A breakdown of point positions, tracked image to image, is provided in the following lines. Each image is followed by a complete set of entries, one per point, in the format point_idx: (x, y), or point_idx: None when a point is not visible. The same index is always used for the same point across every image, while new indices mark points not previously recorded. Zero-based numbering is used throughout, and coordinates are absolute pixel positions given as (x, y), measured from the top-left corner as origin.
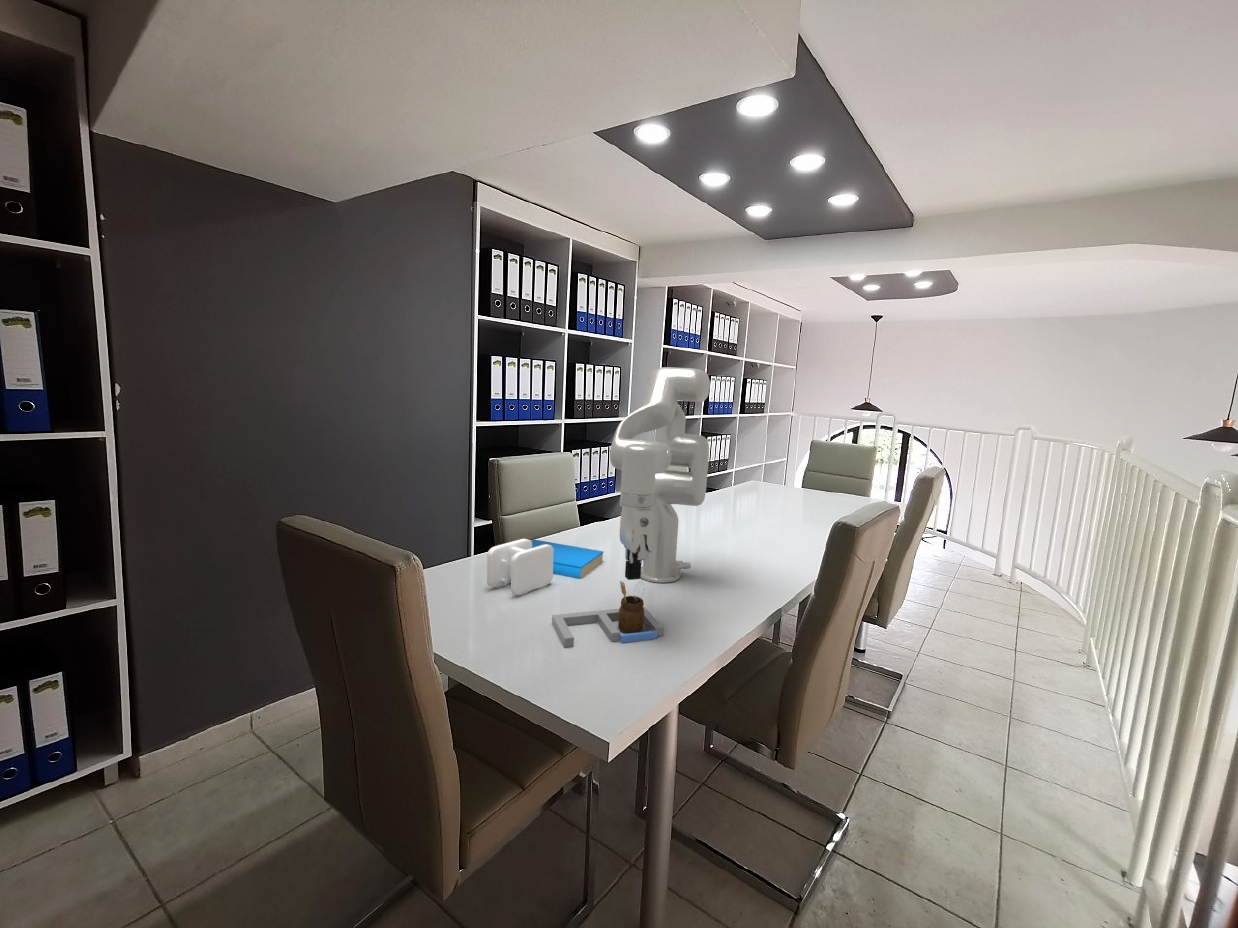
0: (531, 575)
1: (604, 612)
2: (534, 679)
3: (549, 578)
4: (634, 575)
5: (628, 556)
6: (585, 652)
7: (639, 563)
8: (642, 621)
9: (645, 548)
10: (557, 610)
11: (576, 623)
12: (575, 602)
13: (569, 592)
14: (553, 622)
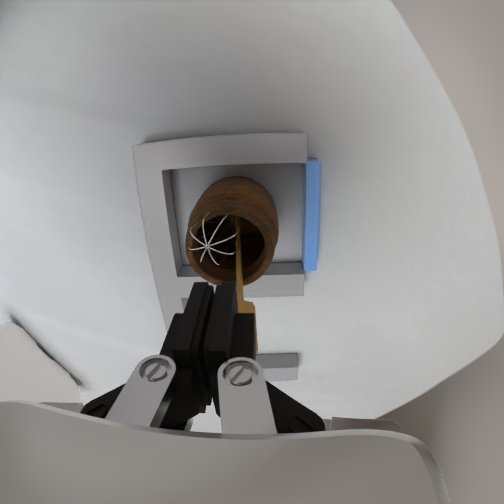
0: (39, 382)
1: (169, 278)
2: (372, 400)
3: (11, 331)
4: (255, 333)
5: (188, 428)
6: (328, 338)
7: (229, 355)
8: (266, 196)
9: (204, 432)
10: (122, 343)
11: None
12: (78, 300)
13: (35, 296)
14: None
